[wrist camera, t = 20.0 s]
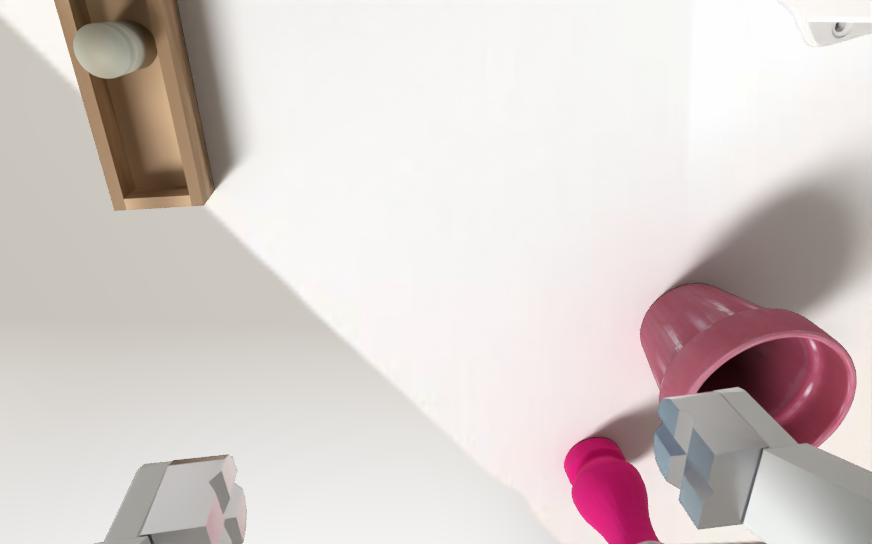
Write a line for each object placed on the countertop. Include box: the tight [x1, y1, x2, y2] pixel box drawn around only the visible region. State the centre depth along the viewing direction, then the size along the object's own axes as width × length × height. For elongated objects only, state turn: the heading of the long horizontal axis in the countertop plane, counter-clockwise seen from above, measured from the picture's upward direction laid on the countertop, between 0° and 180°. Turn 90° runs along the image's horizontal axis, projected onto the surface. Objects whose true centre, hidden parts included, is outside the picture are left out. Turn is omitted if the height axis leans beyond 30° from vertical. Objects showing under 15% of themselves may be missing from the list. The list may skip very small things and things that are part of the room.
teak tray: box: [54, 0, 215, 211], centre depth 36 cm, size 6×18×6 cm, turn 1°
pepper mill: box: [564, 438, 664, 544], centre depth 52 cm, size 7×7×20 cm
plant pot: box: [640, 283, 856, 447], centre depth 48 cm, size 14×14×13 cm
